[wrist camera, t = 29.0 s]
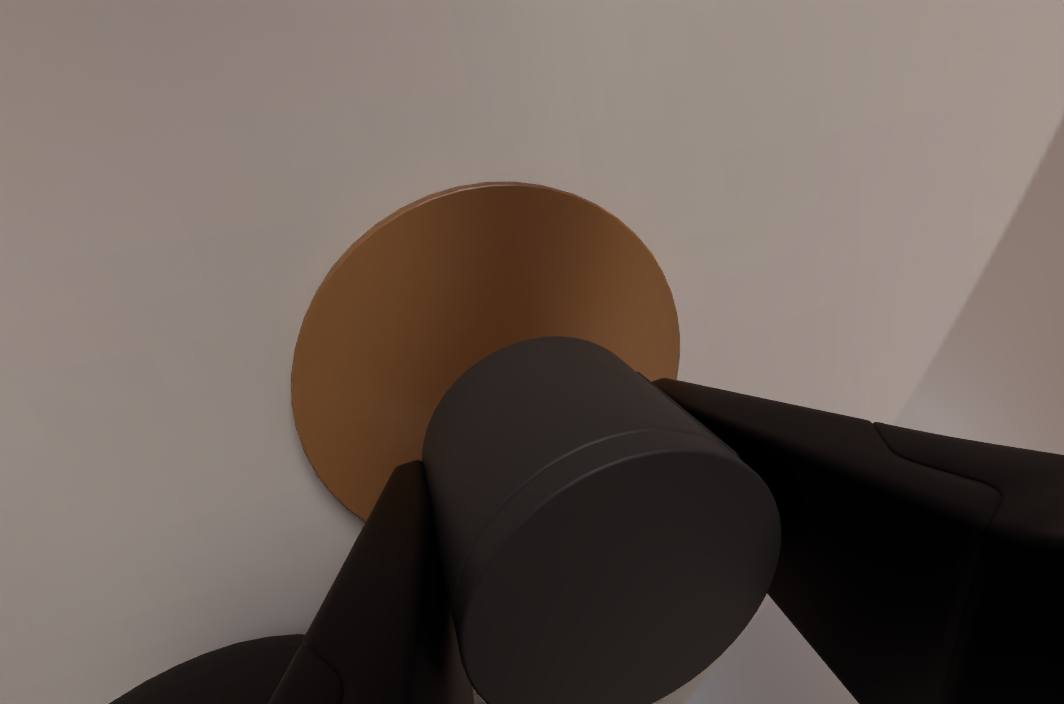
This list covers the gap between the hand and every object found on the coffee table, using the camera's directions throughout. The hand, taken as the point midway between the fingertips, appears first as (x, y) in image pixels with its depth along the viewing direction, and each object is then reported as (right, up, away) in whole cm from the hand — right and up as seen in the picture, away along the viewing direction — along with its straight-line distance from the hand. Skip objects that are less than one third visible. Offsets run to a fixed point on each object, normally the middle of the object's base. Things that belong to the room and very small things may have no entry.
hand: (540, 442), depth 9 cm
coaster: (-1, +1, +2) cm, 2 cm away
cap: (0, 0, 0) cm, 0 cm away
